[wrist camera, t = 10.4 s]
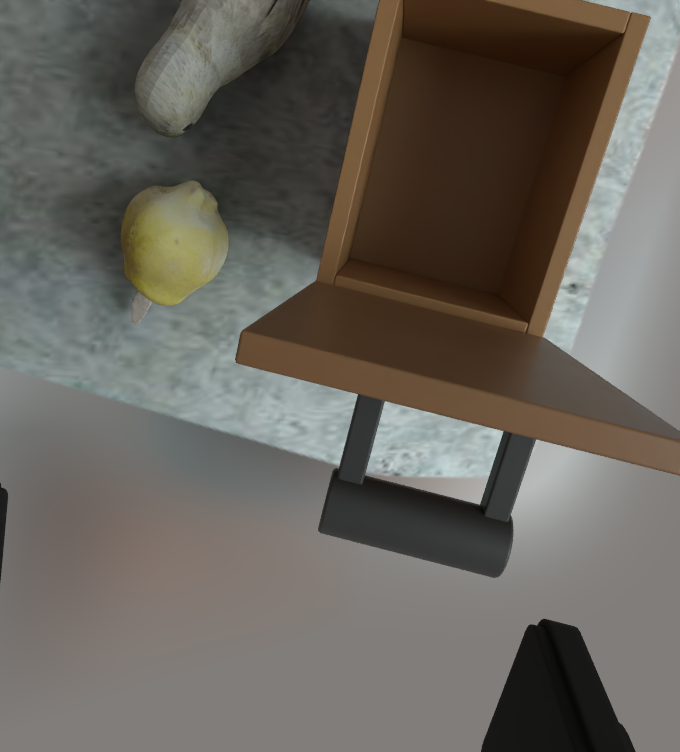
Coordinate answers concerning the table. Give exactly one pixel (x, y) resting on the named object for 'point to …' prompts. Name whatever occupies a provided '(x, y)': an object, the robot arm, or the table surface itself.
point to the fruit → (171, 244)
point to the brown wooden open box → (477, 152)
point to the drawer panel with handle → (445, 413)
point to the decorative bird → (208, 55)
